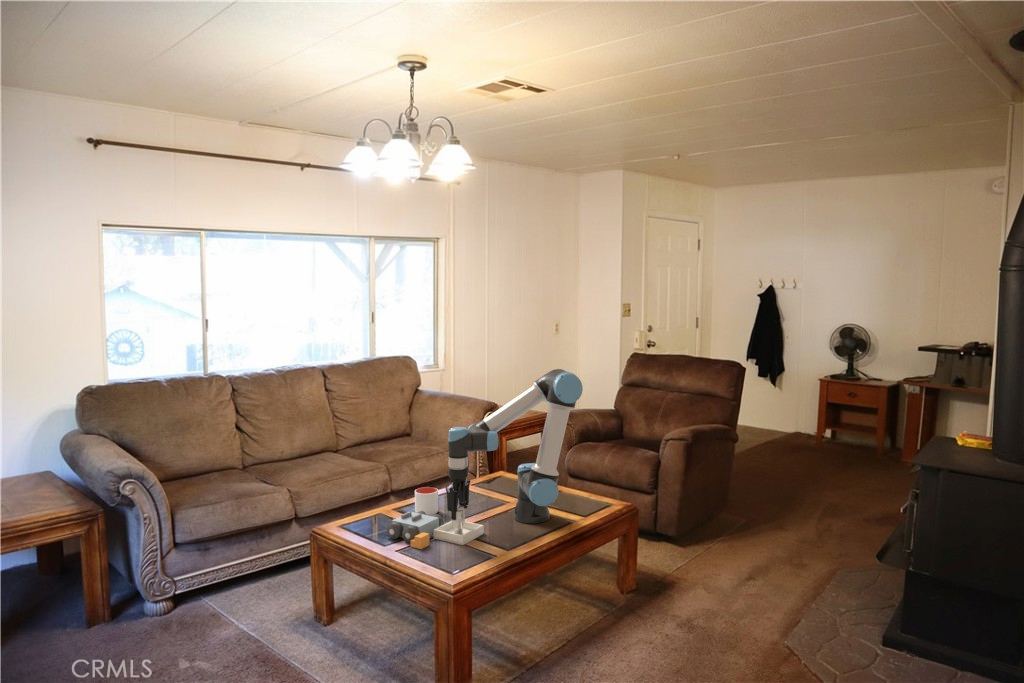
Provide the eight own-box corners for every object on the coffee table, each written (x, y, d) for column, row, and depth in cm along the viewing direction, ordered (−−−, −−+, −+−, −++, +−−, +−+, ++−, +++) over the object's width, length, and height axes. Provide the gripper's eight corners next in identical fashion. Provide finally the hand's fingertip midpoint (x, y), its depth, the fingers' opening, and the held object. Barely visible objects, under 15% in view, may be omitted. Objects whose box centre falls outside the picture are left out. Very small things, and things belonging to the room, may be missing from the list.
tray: (483, 533, 268) (483, 525, 268) (462, 545, 256) (462, 536, 256) (455, 527, 275) (454, 519, 275) (433, 538, 263) (433, 529, 263)
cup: (410, 515, 290) (410, 492, 289) (421, 508, 299) (421, 486, 298) (431, 518, 286) (431, 494, 286) (442, 510, 296) (442, 488, 295)
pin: (466, 533, 266) (466, 505, 265) (459, 536, 262) (459, 509, 261) (457, 531, 269) (456, 503, 268) (450, 534, 265) (449, 507, 264)
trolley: (443, 530, 272) (443, 511, 271) (413, 545, 256) (413, 525, 255) (416, 523, 279) (416, 506, 279) (385, 538, 263) (385, 519, 263)
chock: (429, 545, 256) (429, 533, 256) (421, 549, 252) (420, 537, 252) (419, 542, 259) (419, 531, 259) (410, 546, 255) (410, 535, 254)
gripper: (462, 461, 272) (462, 518, 274) (437, 470, 258) (437, 530, 260) (478, 463, 268) (478, 521, 270) (453, 473, 254) (453, 534, 256)
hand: (458, 525), depth 265 cm, fingers closed on pin, 3 cm apart
